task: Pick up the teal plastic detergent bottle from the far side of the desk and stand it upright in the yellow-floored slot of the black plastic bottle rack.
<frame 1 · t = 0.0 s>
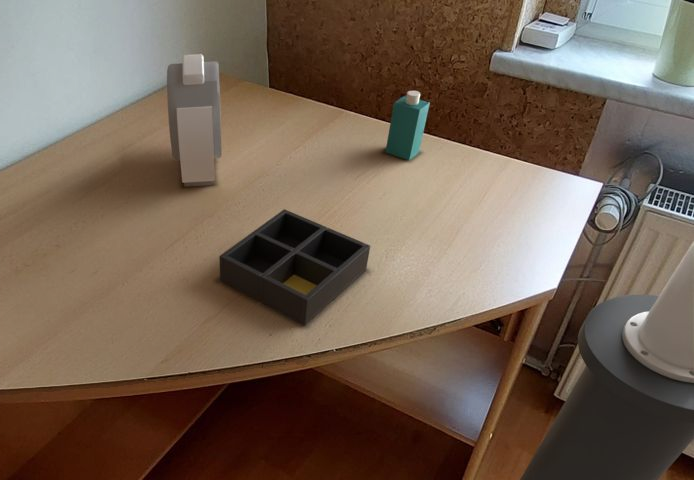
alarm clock: (198, 171, 115), on the table
rack: (293, 275, 92), on the table
detergent bottle: (402, 152, 115), on the table
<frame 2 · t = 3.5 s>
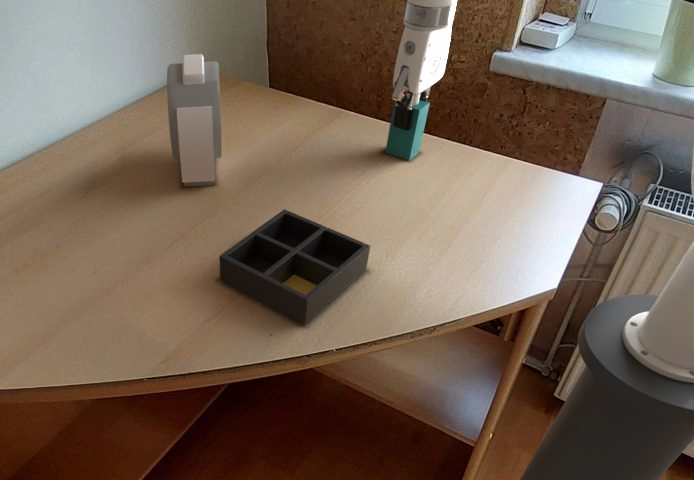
hand: (408, 122, 111), 6 cm above the table, tool pointing down, fingers closed on detergent bottle, 3 cm apart
detergent bottle: (402, 152, 115), on the table, touching gripper
everything else where it was.
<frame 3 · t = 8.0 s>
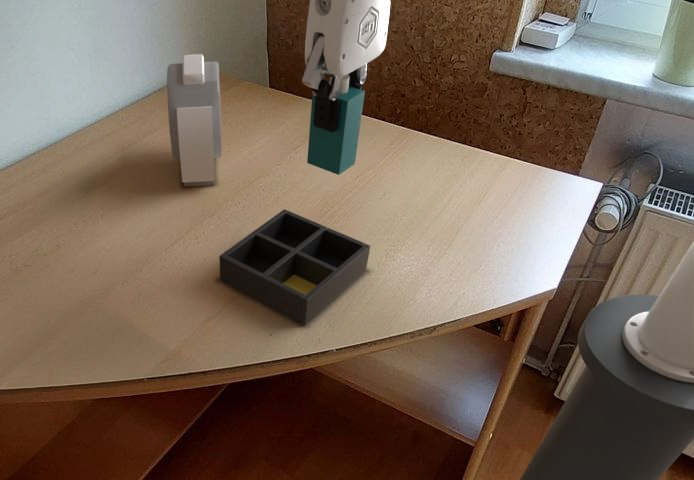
hand: (335, 120, 76), 23 cm above the table, tool pointing down, fingers closed on detergent bottle, 3 cm apart
detergent bottle: (330, 163, 80), point 17 cm above the table, touching gripper
everything else where it was.
when the fingers open (7 cm above the table, at t = 12.6 s): detergent bottle stays where it is, resting on rack.
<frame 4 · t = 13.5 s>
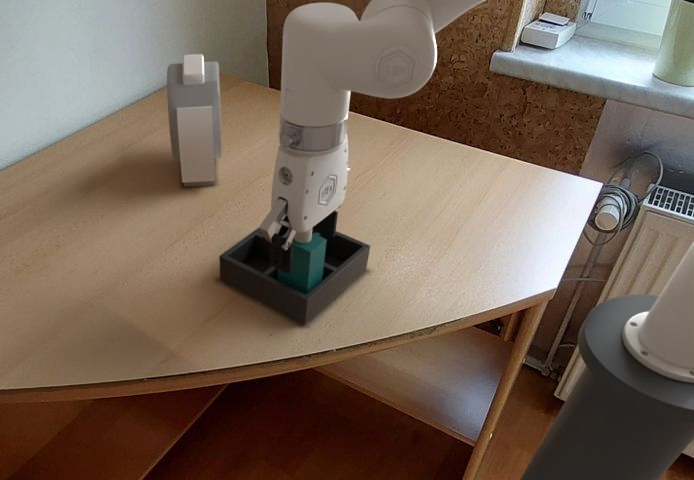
hand: (302, 250, 82), 8 cm above the table, tool pointing down, fingers open, 9 cm apart
detergent bottle: (298, 293, 88), point 1 cm above the table, touching rack
everything else where it was.
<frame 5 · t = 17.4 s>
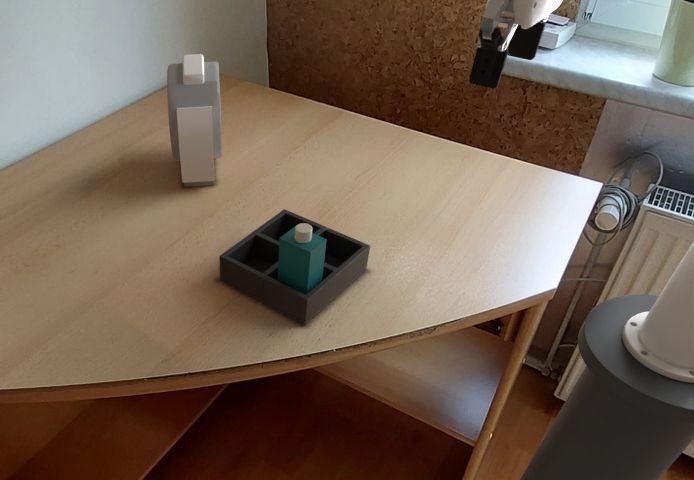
hand: (502, 70, 71), 28 cm above the table, tool pointing down, fingers open, 9 cm apart
nothing on the table moved.
at the end: detergent bottle 0.1 cm from the target spot in the rack, point 0.8 cm above the rack's base; detergent bottle tilted 0°; the gripper is holding nothing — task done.
